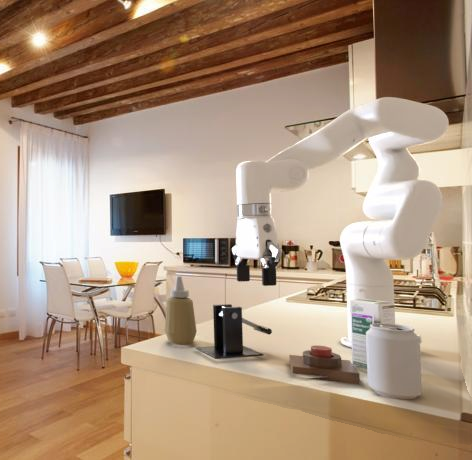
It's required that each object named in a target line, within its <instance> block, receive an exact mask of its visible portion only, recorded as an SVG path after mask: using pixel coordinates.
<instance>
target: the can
mask: <svg viewBox="0 0 472 460" xmlns="http://www.w3.org/2000/svg"><path fill="white" fill-rule="evenodd" d="M370 327H371V328H370V329H369V330H368V331H367V332H366V350H367V368H366V375H367V386H368V387H369V388H371V390H372V391H374V393H376V394H378V395H381V396H383V397H388V398H393V399H398V400H413V399H414V400H415V399H416V398H417V397H419V396H420V395H422V394H423V387H422V384H423V383H422V359H421V358H422V357H421V343H420V338H419V337H418V336H417V335H418V334H417V333H415V331H416V329H415V328H414V327H412V326H408V325H405V324H397V323H395V324H388V323H374V324H370Z"/></svg>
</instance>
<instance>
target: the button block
mask: <svg viewBox="0 0 472 460" xmlns="http://www.w3.org/2000/svg"><path fill="white" fill-rule="evenodd" d="M288 360H289V364H290V368H291V372H292V374H299V375H308V376H317V377H308V378H306V380H316V381H323V382H332V383H342V384H351V385H360V384H361V377H360V375H361V374H360V372H359V370H357V368H356V367H355V365H353V364H352V360H349V359H342V357H341V355H340V354H339V353H335V352H332V357H327V358H326V357H318V356H313V355H311V349H310V350H309V349H307V350H304V351H302V355H295V354H289V355H288Z"/></svg>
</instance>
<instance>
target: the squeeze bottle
mask: <svg viewBox="0 0 472 460" xmlns="http://www.w3.org/2000/svg"><path fill="white" fill-rule="evenodd" d="M169 291H170V292H169V293H170V294H169V295H170V297H169V298H168V299H166V307H165V308H166V310H165V322H164V332H165V335H166V338H167V341H168V343H171V344H174V345H191V344H193V343H194V342H195V338H196V335H197V325H196V317H195V309H194V302H193V301H194V300H193V299H192V298H190V291H189V290H188V289H185V286H184V281H183V277H182V276H176V279H175V283H174V288H173V289H170V290H169Z"/></svg>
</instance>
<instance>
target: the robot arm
mask: <svg viewBox="0 0 472 460" xmlns="http://www.w3.org/2000/svg"><path fill="white" fill-rule="evenodd" d="M449 123H450V122H449V118H448V116H447V114H446V113H445V112H444V111H443V110H442V109H440V108H439V107H437V106H434V105H431V104H427V103H423V102H419V101H414V100H410V99H406V98H401V97H395V96H394V97H392V96H384V97H380V98H376V99H374V100H371V101H368V102H366V103H362V104H360V105H357V106H354V107H352V108H350V109H348V110H346V111H344V112H343V113H342V114H340V115H339V116H337V117H336V118H334V119H333V120H331V121H330V122H329V123H327V124H325V125H324V126H322V127H321V128H320V129H318V130H316V131H315V132H313V133H312V134H310V135H308V136H307V137H305V138H303V139H301V140H299V141H297V142H296V143H295V144H293V145H291V146H289V147H287V148H286V149H284V150H282V151H280V152H279V153H277V154H275V155H273V156H272V157H271V158H269V159H267V160H262V159H261V160H260V159H259V160H258V159H257V160H248V161H242V162H240V163H238V164H237V166H236V168H235V182H236V183H235V186H236V187H235V188H236V189H235V190H236V219H237V220H236V229H235V245H233V246H232V248H231V252H232V255H233V259H234V265H235V266H236V281H237V282H239V283H240V282H241V283H243V282H250V280H251V272H250V271H251V270H250V265H248V264H249V262H250V260H259V261H260V263H261V264H262V266H263V267H262V268H261V284H262V286H264V287H269V286H270V287H271V286H273V287H274V286H276V285H277V269H278V267H279V263H280V262H281V257H282V254H283V249H282V248H281V247H279V244H278V243H279V242H278V234H277V228H276V223H275V218H274V217H272V216H273V215H272V194H277V193H284V192H290V191H291V192H292V191H294V190H297V189H299V188H301V187H303V186H304V185H305V184H306V183H307V181H308V179H309V174H310V173H309V171H311V170H314V169H318V168H320V167H323V166H326V165H328V164H330V163H333V162H335V161H336V160H338V159H340V158H341V157H342V156H344V155H345V154H347V153H348V152H349V151H351V150H352V149H354V148H356V147H357V146H358V145H360V144H361V143H362V142H365V141H366V140H368V143H369V145H370V148H371V149H372V151H373V153H374V155H375V157H376V160H377V163H378V167H377V170H376V173H375V176H374V178H373V180H372V182H371V184H370V186H369V188H368V191H367V193H366V195H365V197H364V200H363V202H362V212H363V214H364V215H365V216H366V217H367V218H368V219H370V220H362V221H356V222H352V223H350V224H348V225H347V226H346V227H345V228H344V229H342V230H341V233H340V236H339V244H340V249H341V253H342V256H343V260H344V266H345V267H344V268H345V285H346V287H345V289H346V312H347V313H346V315H347V336H342V337H341V338H340V343H341V344H342V345H343V346H345V347H348V348H351V349H352V345H351V318H350V301H351V300H354V299H368V300H377V301H386V302H394V303H395V286H394V285H395V283H394V282H395V281H394V275H393V272H392V270H391V267H390V266H389V263H388V262H387V260H388V261H408V260H409V261H410V260H413V259H415V258H416V257H418V256H419V255H421V253H422V252H423V251H424V249H425V247H426V245H427V243H428V240H429V239H430V237H431V234H432V233H433V230H434V228H435V226H436V224H437V222H438V219H439V217H440V215H441V212H442V209H443V201H444V199H443V194H442V191H441V189H440V188H439V186H438V185H437V184H436V183H434V182H433V181H431V180H427V179H419V176H420V173H421V167H420V164H419V163H418V160H417V159H416V158H415V157H414V156H413V155H412V154H411V152H410V151H409V149H408V148H412V147H417V146H421V145H425V144H431V143H433V142H436V141H438V140H440V139H441V138H442V137H444V136H445V134H446V133H447V132H448V130H449V125H450V124H449ZM416 335H417V336H418V337H419V338H420V344H422V336H421V334H416Z"/></svg>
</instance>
